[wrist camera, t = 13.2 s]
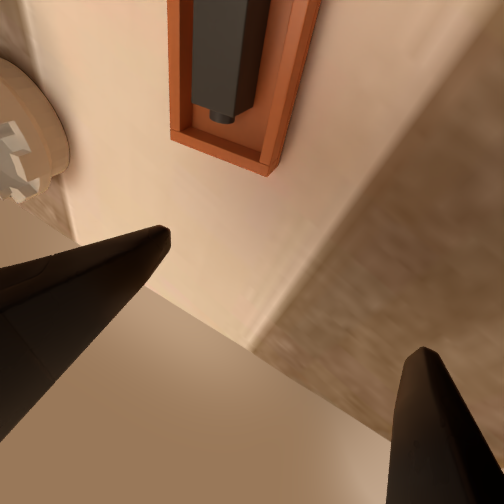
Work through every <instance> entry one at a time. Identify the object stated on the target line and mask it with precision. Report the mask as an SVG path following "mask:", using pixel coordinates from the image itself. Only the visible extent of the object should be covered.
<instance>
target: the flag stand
mask: <svg viewBox="0 0 504 504" xmlns="http://www.w3.org/2000/svg"><path fill="white" fill-rule="evenodd" d="M69 158H70V153H69V145H68V142H67V138H66V135H65V132H64V130H63V127H62V125H61V122H60V120H59V119H58V117H57V115H56V113H55V111H54V109H53V108H52V106H51V105H50V103H49V101H48V100H47V98H46V97H45V96H44V94H43V93H42V92H41V91H40V89H39V88H38V87H37V86H36V84H35V83H34V82H33V81H32V80H31V79H30V78H29V77H28V76H27V75H26V74H25V73H24V72H22V71H21V70H20V69H19V68H18V67H16V66H15V65H13V64H12V63H10V62H9V61H7V60H5V59H2V58H0V199H1V200H5V199H7V198H10V197H13V199H14V200H15V201H16V202H17V204H18V203H22V202H24V201H26V200H28V199H31V198H33V197H35V196H37V195H39V194H41V193H44V192H45V191H46V190H47V189H48V188H49V185H50V182H51V177H53V176H55V175H57V174H60V173H62V172H64V171H65V170H66V169H67V167H68V164H69Z"/></svg>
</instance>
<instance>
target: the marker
mask: <svg viewBox="0 0 504 504" xmlns="http://www.w3.org/2000/svg"><path fill="white" fill-rule="evenodd" d="M270 2H271V0H193V43H192V87H191V103H193V104H196V105H199V106H201V107H204V108H207V109H210V111H209V118H210V119H211V120H212V121H214V122H217V123H221V124H232V123H234V122H235V116H237V115H239V114H241V113H243V112H245V111H247V110H249V109H250V108H252V107H253V104H254V98H255V92H256V86H257V80H258V74H259V68H260V62H261V56H262V50H263V44H264V38H265V32H266V26H267V20H268V14H269V8H270Z"/></svg>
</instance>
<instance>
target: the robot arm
mask: <svg viewBox="0 0 504 504" xmlns="http://www.w3.org/2000/svg"><path fill="white" fill-rule="evenodd" d="M170 248H171V232H170V229H168V228H166V227H164V226H162V225H156V226H153V227H149V228H146V229H142V230H138V231H135V232H131V233H128V234H124V235H121V236H117V237H114V238H110V239H107V240H103V241H100V242H96V243H92V244H89V245H85V246H82V247H78V248H75V249H71V250H68V251H64V252H61V253H58V254H54V255H53V256H52V255H50V256H46V257H43V258H39V259H36V260H32V261H28V262H24V263H21V264H16V265H12V266H8V267H3V268H0V442H1V441H2V440H3V439H4V438H5V437H6V435H8V433H9V432H10V431H11V430H12V429H13V428H14V427H15V426H16V425H17V424H18V422H19V421H20V420H21V419H22V418H23V417H24V416H25V415H26V414H27V413H28V412H29V410H30V409H31V408H32V407H33V406H34V405H35V404H36V403H37V402H38V400H40V398H41V397H42V396H43V395H44V394H45V393H46V392H47V391H48V390H49V389H50V387H51V386H52V385H53V384H54V383H55V381H56V380H57V379H58V378H59V377H60V376H61V375H62V374H63V373H64V372H65V371H66V370H67V369H68V367H69V366H70V365H71V364H72V363H73V362H74V361H75V360H76V359H77V358H78V357H79V355H80V354H81V353H82V352H83V351H84V350H85V349H86V348H87V347H88V345H90V343H91V342H92V341H93V340H94V339H95V338H96V337H97V336H98V335H99V334H100V332H101V331H102V330H103V329H104V328H105V327H106V326H107V325H108V324H109V322H111V320H112V319H113V318H114V317H115V316H116V315H117V314H118V313H119V311H121V309H122V308H123V307H124V306H125V305H126V304H127V303H128V302H129V301H130V300H131V299H132V297H133V296H134V295H135V294H136V293H137V292H138V291H139V290H140V288H142V286H143V285H144V284H145V283H146V282H147V281H148V279H149V278H150V277H151V275H152V274H153V272H154V271H155V270H156V268H157V267H158V266H159V264H160V263H161V261H162V260H163V259H164V257H165V256H166V255H167V253H168V252H169V250H170ZM389 464H390V465H389V474H388V486H387V497H386V504H504V474H503V472H502V470H501V468H500V466H499V464H498V462H497V461H496V459H495V457H494V455H493V453H492V451H491V450H490V448H489V446H488V444H487V442H486V440H485V439H484V437H483V435H482V433H481V431H480V429H479V428H478V426H477V424H476V422H475V420H474V418H473V416H472V415H471V413H470V411H469V409H468V407H467V405H466V404H465V402H464V400H463V398H462V396H461V394H460V393H459V391H458V389H457V387H456V385H455V383H454V381H453V380H452V378H451V376H450V374H449V372H448V370H447V369H446V367H445V365H444V363H443V361H442V359H441V358H440V356H439V354H438V353H437V352H435V351H433V350H431V349H429V348H426V347H420V348H419V349H418V350H416V351H415V352H414V353H413V354H411V355H410V356H409V357H408V358H407V359H406V361H405V363H404V366H403V371H402V376H401V380H400V385H399V390H398V394H397V399H396V404H395V409H394V417H393V429H392V440H391V451H390V463H389Z"/></svg>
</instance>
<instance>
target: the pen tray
mask: <svg viewBox="0 0 504 504" xmlns="http://www.w3.org/2000/svg"><path fill="white" fill-rule="evenodd" d="M320 3H321V0H271V2H270V8H269V14H268V20H267V26H266V32H265V38H264V44H263V50H262V56H261V62H260V68H259V74H258V80H257V86H256V92H255V98H254V104H253V107H252V108H250V109H249V110H247V111H245V112H243V113H241V114H239V115H237V116H235V122H234V123H232V124H221V123H217V122H214V121H212V120H211V119H210V118H209V111H210V109H207V108H204V107H201V106H199V105H196V104H193V103H191V87H192V43H193V0H167V16H168V57H169V98H170V128H171V129H170V136H171V140H173V141H175V142H178V143H181V144H183V145H186V146H188V147H191V148H193V149H196V150H198V151H201V152H204V153H206V154H209V155H211V156H214V157H216V158H219V159H222V160H224V161H227V162H229V163H232V164H234V165H237V166H239V167H242V168H245V169H247V170H250V171H252V172H255V173H257V174H260V175H262V176H265V177H268V176H269V175H270V174H271V173H272V172H273V171H274V169H275V168H276V167H277V166H278V164H279V160H280V156H281V152H282V148H283V144H284V141H285V137H286V133H287V129H288V125H289V122H290V118H291V114H292V110H293V106H294V103H295V99H296V95H297V91H298V87H299V83H300V80H301V76H302V72H303V68H304V64H305V61H306V57H307V53H308V49H309V45H310V41H311V38H312V34H313V30H314V26H315V22H316V19H317V15H318V11H319V7H320Z"/></svg>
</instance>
